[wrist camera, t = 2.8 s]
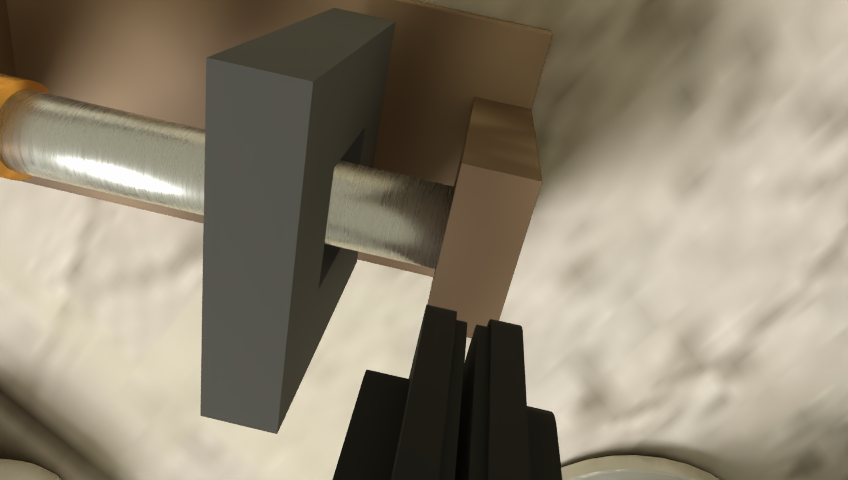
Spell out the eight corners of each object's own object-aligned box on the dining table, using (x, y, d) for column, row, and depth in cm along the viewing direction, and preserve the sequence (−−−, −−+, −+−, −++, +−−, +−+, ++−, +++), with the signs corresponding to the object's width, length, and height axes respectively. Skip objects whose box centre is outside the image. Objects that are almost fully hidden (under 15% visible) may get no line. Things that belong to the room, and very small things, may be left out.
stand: (550, 30, 20) (574, 79, 13) (481, 275, 25) (471, 407, 18) (-39, -101, 20) (-323, -123, 13) (3, 164, 25) (-191, 250, 18)
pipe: (476, 167, 17) (471, 207, 15) (455, 251, 19) (447, 301, 16) (-109, 33, 18) (-213, 49, 15) (-88, 125, 19) (-181, 155, 16)
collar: (395, 21, 19) (313, 81, 11) (356, 261, 23) (277, 434, 15) (334, 7, 19) (206, 57, 11) (307, 250, 23) (200, 415, 15)
